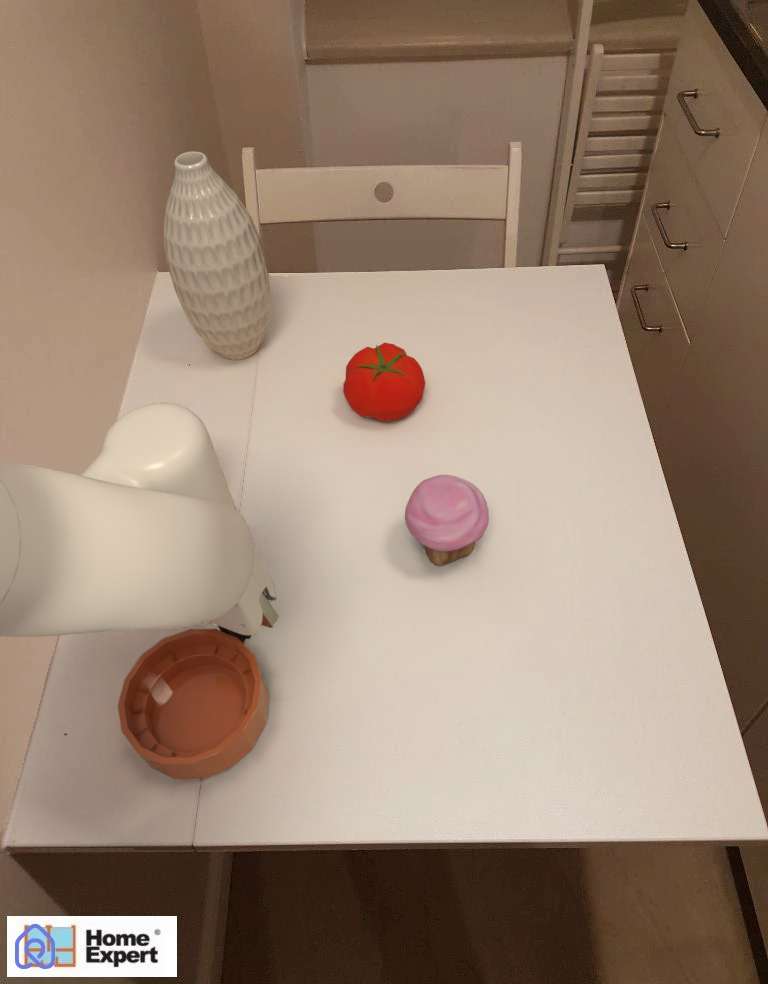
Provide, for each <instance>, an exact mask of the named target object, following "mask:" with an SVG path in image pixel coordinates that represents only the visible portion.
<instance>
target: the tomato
mask: <svg viewBox="0 0 768 984" xmlns="http://www.w3.org/2000/svg"><path fill="white" fill-rule="evenodd" d="M425 387H426V380H425V375H424V371H423V368H422V366H421V365H420V363H419V362H418V361H417V359H415V357H413V356H410V355H408V354H407V351H406V350H405V349H404V348H402V347H401V346H397V345H396V344H394V343H390V342H389V343H388V342H383V343H381V344H380V345H377V344H376V345H375V347H371V346H366V347H364V348H362V349H360V350H359V351H357V352H356V353H355V354H353V356H352V357H351V358H350V360H349V361H348V362H347V364H346V366H345V380H344V382H343V387H342V392H343V396H344V398H345V400H346V402H347V404H348V405H349V407H350V408H351V410H353V411H354V412H355V413H356V414H357V415H359V416H361V417H364V418H373V419H376V420H377V421H381V422H390V421H391V422H392V421H397V420H399V419H402V418H405V417H406V416H408V415H409V414H410V413H412V412H413V411H414V410H415V409H416V408H417V407H418V406H419V404H420V403H421V401H423V397H424V392H425Z"/></svg>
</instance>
